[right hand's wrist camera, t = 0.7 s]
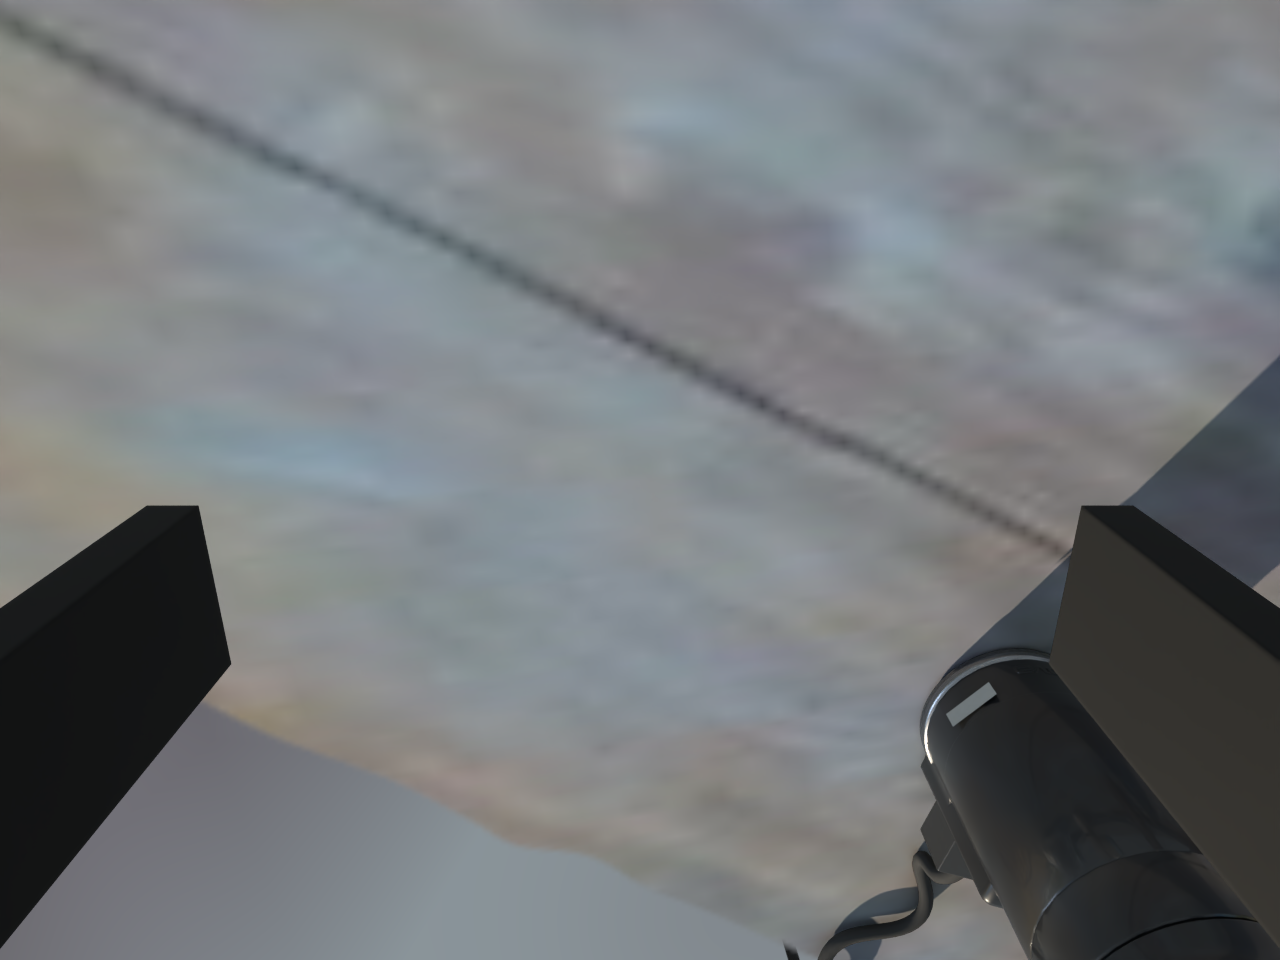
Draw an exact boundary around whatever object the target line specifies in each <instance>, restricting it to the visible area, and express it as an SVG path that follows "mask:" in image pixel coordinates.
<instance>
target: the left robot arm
mask: <svg viewBox="0 0 1280 960" xmlns="http://www.w3.org/2000/svg"><path fill="white" fill-rule="evenodd" d="M1049 660H1050V654H1047V653H1044V652H1040V651H1036V650H1030V649H1004V650H998V651H993V652H989V653H986V654H983V655H980V656H977V657H975V658H973V659H970V660H968V661H966V662H965V663H963V664H961V665H960V666H958V667H957V668H955V669H954V670H952V671H951V672H950V673H949V674H947V675H946V676H945V677H944V678H943V679H942V680H941V681H940V682H939V683H938V684H937V686H936V687H935V688H934V690H933V691H932V692H931V694H930V696H929V697H928V699H927V701H926V703H925V706H924V708H923V711H922V715H921V721H920V736H921V741H922V745H923V747H924V750H925V752H926V756H925V759H924V761H923V763H922V765H921V768H922V770H923V773H924V775H925V777H926V779H927V781H928V783H929V785H930V788H931V790H932V792H933V794H934V796H935V798H936V802H935V804H934V806H933V807H932V809H931V811H930V813H929V815H928V816H927V818H926V820H925V822H924V824H923V825H922V827H921V832H922V835H923V837H924V839H925V842H926V844H927V847H928V849H929V851H930V854H931V856H932V857H931V856H930V855H929V854H928V853H927V852H925V851H919V852H917V853H916V854H915V855H914V856H913V861H912V867H913V871H914V875H915V878H916V882H917V886H918V891H919V903H918V906H917V908H916V909H915V911H913V912H912V913H911V914H910V915H908V916H907V917H905V918H903V919H900V920H897V921H893V922H888V923H882V924H874V925H866V926H860V927H855V928H851V929H848V930H845V931H842V932H840V933H838V934H836V935H835V936H834V937H832V938H831V939H830V940H829V941H828V942H827V943H826V945H825V946H824V947H823V949H822V951H821V953H820V955H819V957H818V960H833V958H834V957H835V955H836V954H837V953H838V952H839V951H840V950H842V949H843V948H845V947H847V946H849V945H852V944H855V943H859V942H863V941H870V940H878V939H886V938H892V937H897V936H901V935H905V934H907V933H910V932H912V931H914V930H916V929H917V928H919V927H920V926H921V925H922V924H923V923H925V921H926V920H927V918H928V917H929V915H930V913H931V910H932V907H933V890H932V885H931V881H930V878H931V879H932V880H933V881H934V882H936V883H938V884H952V883H955V882H957V881H959V880H961V879H962V878H968V879H972V880H973V881H974V883H975V885H976V887H977V889H978V891H979V893H980V896H981V897H982V899H983V900H984V901H985V902H986V903H988V904H989V905H992V906H995V907H999V908H1003V909H1004V911H1005V913H1006V915H1007V917H1008V919H1009V921H1010V923H1011V925H1012V927H1013V929H1014V931H1015V933H1016V935H1017V937H1018V939H1019V942H1020V944H1021V946H1022V948H1023V950H1024V952H1025V954H1026V956H1027V958H1028V960H1280V948H1279V947H1278V946H1277V945H1276V943H1275V942H1274V941H1273V940H1272V938H1271V937H1270V936H1269V935H1268V934H1267V932H1266V931H1265V930H1264V929H1263V927H1262V926H1261V925H1260V924H1259V922H1258V921H1257V920H1256V919H1255V918H1254V916H1253V915H1252V914H1251V913H1250V911H1249V910H1248V909H1247V908H1246V906H1245V905H1244V904H1243V903H1242V902H1241V900H1240V899H1239V898H1238V897H1237V895H1236V894H1235V893H1234V892H1233V890H1232V889H1231V888H1230V887H1229V886H1228V884H1227V883H1226V882H1225V881H1224V879H1223V878H1222V877H1221V876H1220V874H1219V873H1218V872H1217V871H1216V869H1215V868H1214V867H1213V866H1212V865H1211V863H1210V862H1209V861H1208V860H1207V858H1206V857H1205V856H1204V855H1203V853H1202V852H1201V851H1200V850H1199V849H1198V847H1197V846H1196V845H1195V844H1194V842H1193V841H1192V840H1191V839H1190V837H1189V836H1188V835H1187V834H1186V833H1185V831H1184V830H1183V829H1182V828H1181V826H1180V825H1179V824H1178V823H1177V821H1176V820H1175V819H1174V818H1173V817H1172V815H1171V814H1170V813H1169V812H1168V810H1167V809H1166V808H1165V807H1164V805H1163V804H1162V803H1161V802H1160V800H1159V799H1158V798H1157V797H1156V796H1155V794H1154V793H1153V792H1152V791H1151V789H1150V788H1149V787H1148V786H1147V784H1146V783H1145V782H1144V781H1143V780H1142V778H1141V777H1140V776H1139V775H1138V773H1137V772H1136V771H1135V770H1134V768H1133V767H1132V766H1131V765H1130V764H1129V762H1128V761H1127V760H1126V759H1125V757H1124V756H1123V755H1122V754H1121V752H1120V751H1119V750H1118V749H1117V748H1116V746H1115V745H1114V744H1113V743H1112V741H1111V740H1110V739H1109V738H1108V736H1107V735H1106V734H1105V733H1104V731H1103V730H1102V729H1101V728H1100V727H1099V725H1098V724H1097V723H1096V722H1095V720H1094V719H1093V718H1092V717H1091V715H1090V714H1089V713H1088V712H1087V711H1086V709H1085V708H1084V707H1083V706H1082V704H1081V703H1080V702H1079V701H1078V699H1077V698H1076V697H1075V696H1074V695H1073V693H1072V692H1071V691H1070V690H1069V688H1068V687H1067V686H1066V685H1065V683H1064V682H1063V681H1062V680H1061V678H1060V677H1059V676H1058V675H1057V674H1056V672H1055V671H1054V670H1053V669H1052V667H1051V666H1050V665H1049ZM784 948H785V951H786V955H787V958H788V960H800V959H799V955H798V952H797V950H795V949H792V948H790V947H788V946H786V945H784Z"/></svg>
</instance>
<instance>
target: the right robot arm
mask: <svg viewBox="0 0 1280 960" xmlns="http://www.w3.org/2000/svg"><path fill="white" fill-rule="evenodd" d="M230 665H231V660H230V655H229V651H228V646H227V641H226V636H225V631H224V627H223V622H222V617H221V612H220V607H219V602H218V598H217V593H216V588H215V583H214V578H213V574H212V569H211V564H210V559H209V554H208V549H207V545H206V540H205V535H204V530H203V525H202V520H201V516H200V511H199V506H146V507H144V508H143V509H141V510H140V511H139V512H137V513H136V514H134V515H133V516H131V517H130V518H129V519H127V520H126V521H124V522H123V523H121V524H120V525H119V526H117V527H116V528H114V529H113V530H111V531H110V532H109V533H107V534H106V535H104V536H103V537H101V538H100V539H99V540H97V541H96V542H94V543H93V544H91V545H90V546H89V547H87V548H86V549H84V550H83V551H81V552H80V553H79V554H77V555H76V556H74V557H73V558H71V559H70V560H69V561H67V562H66V563H64V564H63V565H61V566H60V567H59V568H57V569H56V570H54V571H53V572H51V573H50V574H49V575H47V576H46V577H44V578H43V579H41V580H40V581H39V582H37V583H36V584H34V585H33V586H31V587H30V588H29V589H27V590H26V591H24V592H23V593H21V594H20V595H19V596H17V597H16V598H14V599H13V600H11V601H10V602H9V603H7V604H6V605H4V606H3V607H1V608H0V948H1V947H2V946H3V945H4V943H5V942H6V941H7V940H8V938H9V937H10V936H11V935H12V934H13V932H14V931H15V930H16V929H17V927H18V926H19V925H20V924H21V922H22V921H23V920H24V919H25V918H26V916H27V915H28V914H29V913H30V911H31V910H32V909H33V908H34V906H35V905H36V904H37V903H38V902H39V900H40V899H41V898H42V897H43V895H44V894H45V893H46V892H47V890H48V889H49V888H50V887H51V886H52V884H53V883H54V882H55V881H56V879H57V878H58V877H59V876H60V874H61V873H62V872H63V871H64V869H65V868H66V867H67V866H68V865H69V863H70V862H71V861H72V860H73V858H74V857H75V856H76V855H77V853H78V852H79V851H80V850H81V849H82V847H83V846H84V845H85V844H86V842H87V841H88V840H89V839H90V837H91V836H92V835H93V834H94V833H95V831H96V830H97V829H98V828H99V826H100V825H101V824H102V823H103V821H104V820H105V819H106V818H107V816H108V815H109V814H110V813H111V812H112V810H113V809H114V808H115V807H116V805H117V804H118V803H119V802H120V800H121V799H122V798H123V797H124V796H125V794H126V793H127V792H128V791H129V789H130V788H131V787H132V786H133V784H134V783H135V782H136V781H137V780H138V778H139V777H140V776H141V774H142V773H143V772H144V771H145V770H146V768H147V767H148V766H149V765H150V763H151V762H152V761H153V760H154V759H155V757H156V756H157V755H158V754H159V752H160V751H161V750H162V749H163V747H164V746H165V745H166V744H167V742H168V741H169V740H170V739H171V738H172V736H173V735H174V734H175V733H176V731H177V730H178V729H179V728H180V726H181V725H182V724H183V723H184V722H185V720H186V719H187V718H188V717H189V715H190V714H191V713H192V712H193V711H194V709H195V708H196V707H197V706H198V704H199V703H200V702H201V701H202V699H203V698H204V697H205V696H206V695H207V693H208V692H209V691H210V690H211V688H212V687H213V686H214V685H215V683H216V682H217V681H218V680H219V678H220V677H221V676H222V675H223V674H224V672H225V671H226V670H227V669H228V667H229V666H230ZM1049 665H1050V666H1051V667H1052V669H1053V670H1054V671H1055V672H1056V674H1057V675H1058V676H1059V677H1060V678H1061V680H1062V681H1063V682H1064V683H1065V685H1066V686H1067V687H1068V688H1069V690H1070V691H1071V692H1072V693H1073V695H1074V696H1075V697H1076V698H1077V699H1078V701H1079V702H1080V703H1081V704H1082V706H1083V707H1084V708H1085V709H1086V711H1087V712H1088V713H1089V714H1090V715H1091V717H1092V718H1093V719H1094V720H1095V722H1096V723H1097V724H1098V725H1099V727H1100V728H1101V729H1102V730H1103V731H1104V733H1105V734H1106V735H1107V736H1108V738H1109V739H1110V740H1111V741H1112V743H1113V744H1114V745H1115V746H1116V748H1117V749H1118V750H1119V751H1120V752H1121V754H1122V755H1123V756H1124V757H1125V759H1126V760H1127V761H1128V762H1129V764H1130V765H1131V766H1132V767H1133V768H1134V770H1135V771H1136V772H1137V773H1138V775H1139V776H1140V777H1141V778H1142V780H1143V781H1144V782H1145V783H1146V784H1147V786H1148V787H1149V788H1150V789H1151V791H1152V792H1153V793H1154V794H1155V796H1156V797H1157V798H1158V799H1159V800H1160V802H1161V803H1162V804H1163V805H1164V807H1165V808H1166V809H1167V810H1168V812H1169V813H1170V814H1171V815H1172V817H1173V818H1174V819H1175V820H1176V821H1177V823H1178V824H1179V825H1180V826H1181V828H1182V829H1183V830H1184V831H1185V833H1186V834H1187V835H1188V836H1189V837H1190V839H1191V840H1192V841H1193V842H1194V844H1195V845H1196V846H1197V847H1198V849H1199V850H1200V851H1201V852H1202V853H1203V855H1204V856H1205V857H1206V858H1207V860H1208V861H1209V862H1210V863H1211V865H1212V866H1213V867H1214V868H1215V869H1216V871H1217V872H1218V873H1219V874H1220V876H1221V877H1222V878H1223V879H1224V881H1225V882H1226V883H1227V884H1228V886H1229V887H1230V888H1231V889H1232V890H1233V892H1234V893H1235V894H1236V895H1237V897H1238V898H1239V899H1240V900H1241V902H1242V903H1243V904H1244V905H1245V906H1246V908H1247V909H1248V910H1249V911H1250V913H1251V914H1252V915H1253V916H1254V918H1255V919H1256V920H1257V921H1258V922H1259V924H1260V925H1261V926H1262V927H1263V929H1264V930H1265V931H1266V932H1267V934H1268V935H1269V936H1270V937H1271V938H1272V940H1273V941H1274V942H1275V943H1276V945H1277V946H1278V947H1279V948H1280V608H1279V607H1277V606H1276V605H1274V604H1273V603H1271V602H1270V601H1269V600H1267V599H1266V598H1264V597H1263V596H1261V595H1260V594H1259V593H1257V592H1256V591H1254V590H1253V589H1251V588H1250V587H1249V586H1247V585H1246V584H1244V583H1243V582H1241V581H1240V580H1239V579H1237V578H1236V577H1234V576H1233V575H1231V574H1230V573H1229V572H1227V571H1226V570H1224V569H1223V568H1221V567H1220V566H1219V565H1217V564H1216V563H1214V562H1213V561H1211V560H1210V559H1209V558H1207V557H1206V556H1204V555H1203V554H1201V553H1200V552H1199V551H1197V550H1196V549H1194V548H1193V547H1191V546H1190V545H1189V544H1187V543H1186V542H1184V541H1183V540H1181V539H1180V538H1179V537H1177V536H1176V535H1174V534H1173V533H1171V532H1170V531H1169V530H1167V529H1166V528H1164V527H1163V526H1161V525H1160V524H1159V523H1157V522H1156V521H1154V520H1153V519H1151V518H1150V517H1149V516H1147V515H1146V514H1144V513H1143V512H1141V511H1140V510H1139V509H1137V508H1136V507H1134V506H1081V511H1080V516H1079V520H1078V525H1077V530H1076V535H1075V540H1074V545H1073V549H1072V554H1071V559H1070V564H1069V569H1068V574H1067V578H1066V583H1065V588H1064V593H1063V598H1062V602H1061V607H1060V612H1059V617H1058V622H1057V627H1056V631H1055V636H1054V641H1053V646H1052V651H1051V655H1050V660H1049Z"/></svg>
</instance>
